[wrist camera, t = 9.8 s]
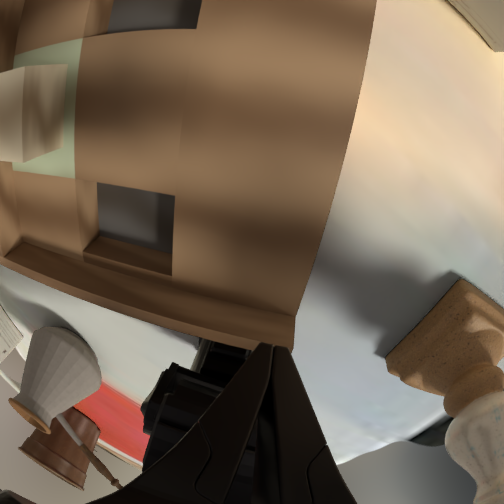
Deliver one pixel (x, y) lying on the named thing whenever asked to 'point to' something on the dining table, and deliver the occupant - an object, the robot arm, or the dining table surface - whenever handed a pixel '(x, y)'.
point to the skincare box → (7, 335)
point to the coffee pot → (58, 383)
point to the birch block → (31, 111)
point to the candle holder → (463, 379)
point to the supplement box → (485, 19)
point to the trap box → (185, 155)
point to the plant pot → (63, 447)
